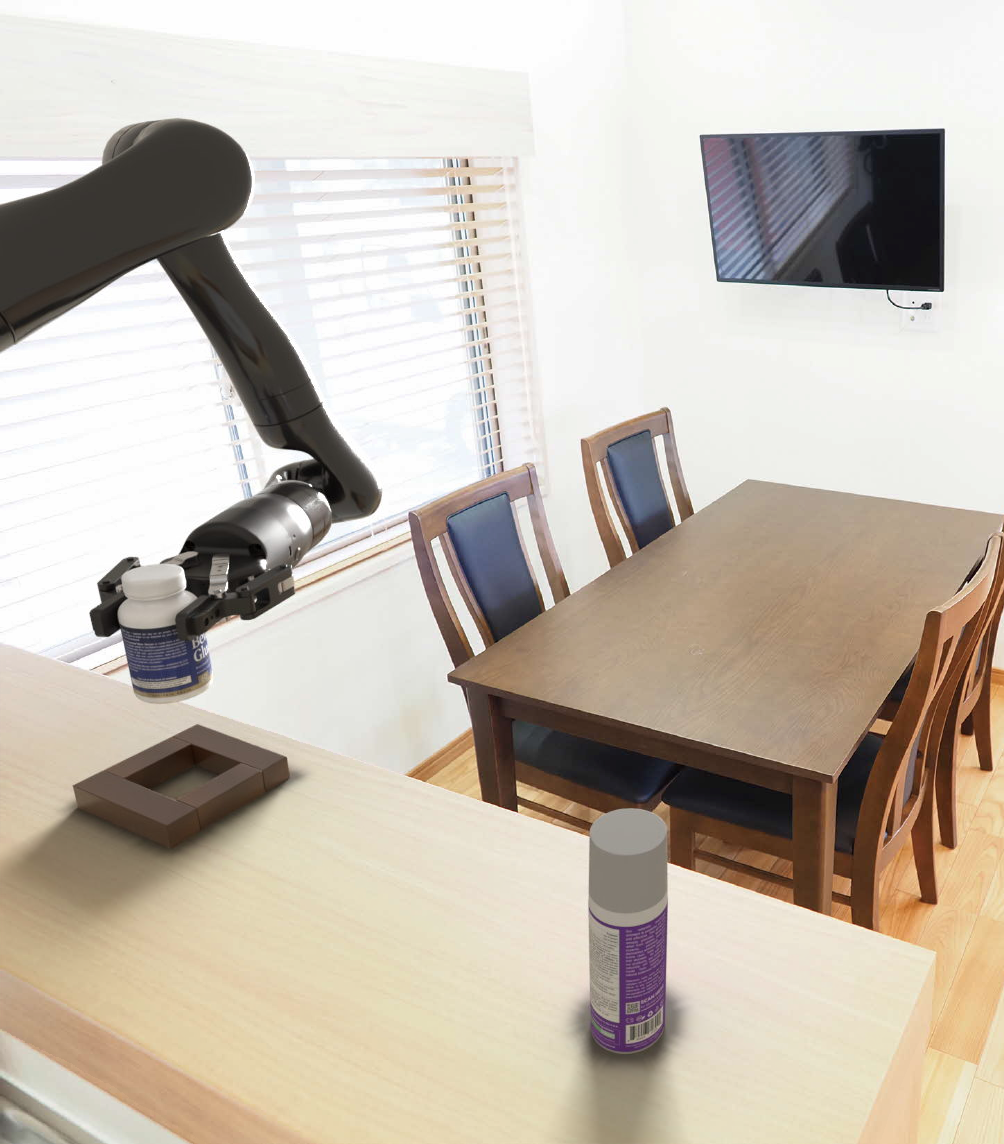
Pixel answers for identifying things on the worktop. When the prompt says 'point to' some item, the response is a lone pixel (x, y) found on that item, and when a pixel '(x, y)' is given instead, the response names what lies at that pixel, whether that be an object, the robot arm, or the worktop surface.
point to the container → (627, 929)
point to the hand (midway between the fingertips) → (140, 627)
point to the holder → (172, 821)
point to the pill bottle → (161, 636)
